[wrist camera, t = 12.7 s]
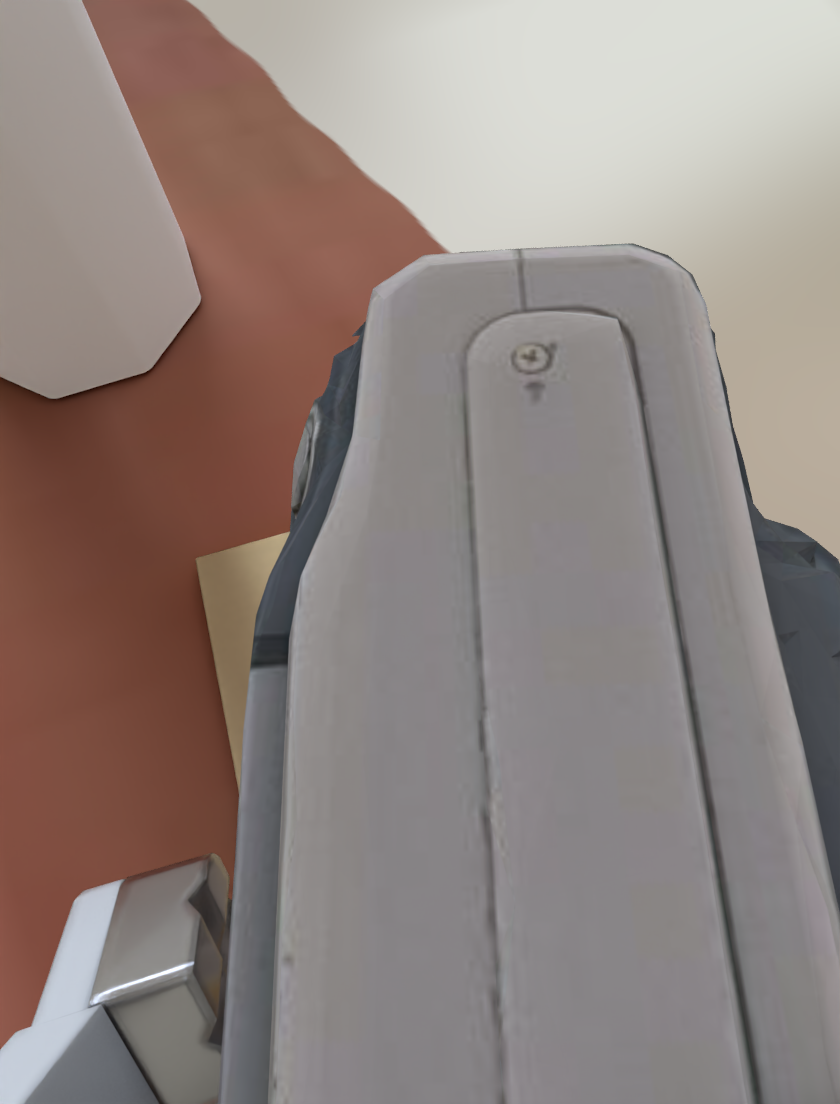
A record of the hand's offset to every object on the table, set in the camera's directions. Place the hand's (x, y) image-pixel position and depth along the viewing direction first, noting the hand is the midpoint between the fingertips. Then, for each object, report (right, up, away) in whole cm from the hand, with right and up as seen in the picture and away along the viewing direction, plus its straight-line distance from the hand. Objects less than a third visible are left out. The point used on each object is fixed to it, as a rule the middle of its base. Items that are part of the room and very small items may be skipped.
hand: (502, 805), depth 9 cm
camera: (0, -3, +5) cm, 6 cm away
